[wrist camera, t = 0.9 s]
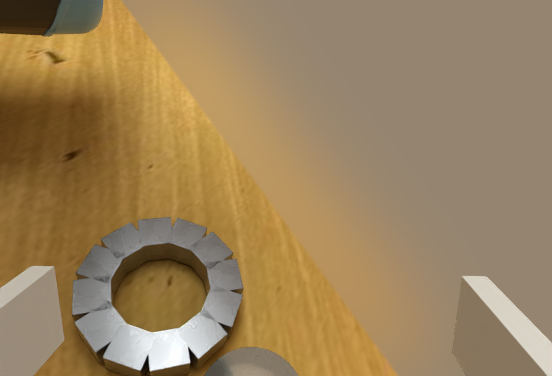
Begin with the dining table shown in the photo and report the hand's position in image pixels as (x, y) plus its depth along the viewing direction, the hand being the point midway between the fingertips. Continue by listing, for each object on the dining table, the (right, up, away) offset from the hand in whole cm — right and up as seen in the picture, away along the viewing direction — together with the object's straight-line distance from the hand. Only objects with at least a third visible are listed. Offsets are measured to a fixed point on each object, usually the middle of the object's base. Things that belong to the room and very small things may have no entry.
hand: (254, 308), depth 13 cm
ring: (-8, -5, +19) cm, 22 cm away
